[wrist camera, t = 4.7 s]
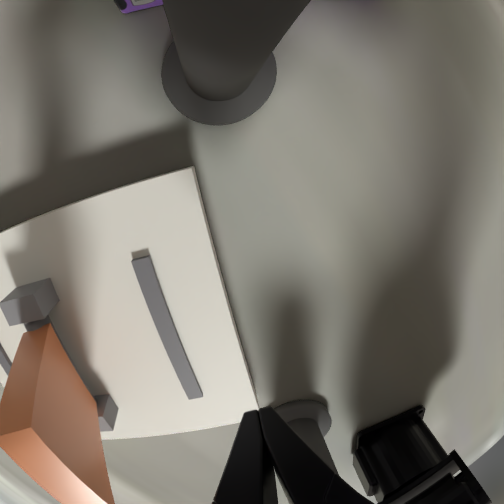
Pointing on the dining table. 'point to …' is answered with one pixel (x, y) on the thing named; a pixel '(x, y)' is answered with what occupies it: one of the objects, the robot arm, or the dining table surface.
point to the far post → (309, 425)
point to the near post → (224, 55)
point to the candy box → (136, 4)
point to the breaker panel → (132, 306)
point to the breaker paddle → (53, 420)
